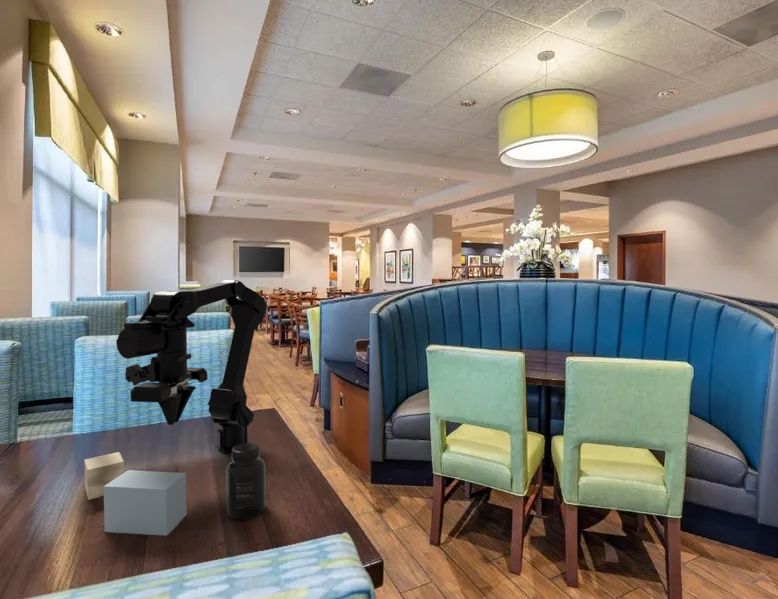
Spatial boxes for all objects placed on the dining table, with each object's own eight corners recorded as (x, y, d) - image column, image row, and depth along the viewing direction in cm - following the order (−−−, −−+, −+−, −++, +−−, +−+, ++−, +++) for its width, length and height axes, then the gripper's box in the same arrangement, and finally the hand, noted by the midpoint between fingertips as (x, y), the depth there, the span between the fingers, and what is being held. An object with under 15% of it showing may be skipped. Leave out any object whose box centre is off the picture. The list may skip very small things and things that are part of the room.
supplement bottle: (273, 504, 81) (272, 442, 80) (250, 524, 75) (249, 457, 74) (243, 498, 83) (242, 438, 83) (218, 516, 77) (217, 451, 76)
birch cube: (119, 479, 91) (119, 451, 90) (124, 490, 86) (123, 461, 86) (85, 488, 87) (84, 459, 86) (88, 500, 82) (87, 469, 82)
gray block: (129, 512, 78) (128, 470, 78) (186, 516, 77) (185, 473, 77) (104, 532, 72) (103, 486, 72) (166, 536, 71) (165, 489, 71)
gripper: (162, 342, 100) (163, 408, 100) (102, 357, 81) (104, 438, 82) (208, 344, 99) (209, 410, 100) (158, 359, 80) (159, 440, 81)
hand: (173, 423), depth 91 cm, fingers closed
